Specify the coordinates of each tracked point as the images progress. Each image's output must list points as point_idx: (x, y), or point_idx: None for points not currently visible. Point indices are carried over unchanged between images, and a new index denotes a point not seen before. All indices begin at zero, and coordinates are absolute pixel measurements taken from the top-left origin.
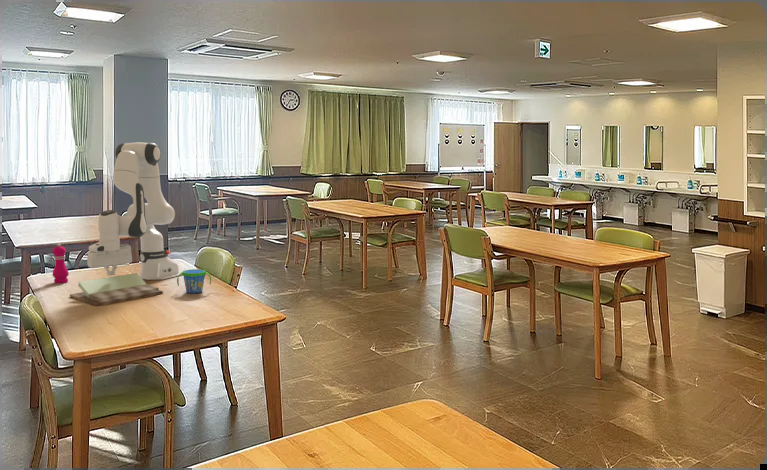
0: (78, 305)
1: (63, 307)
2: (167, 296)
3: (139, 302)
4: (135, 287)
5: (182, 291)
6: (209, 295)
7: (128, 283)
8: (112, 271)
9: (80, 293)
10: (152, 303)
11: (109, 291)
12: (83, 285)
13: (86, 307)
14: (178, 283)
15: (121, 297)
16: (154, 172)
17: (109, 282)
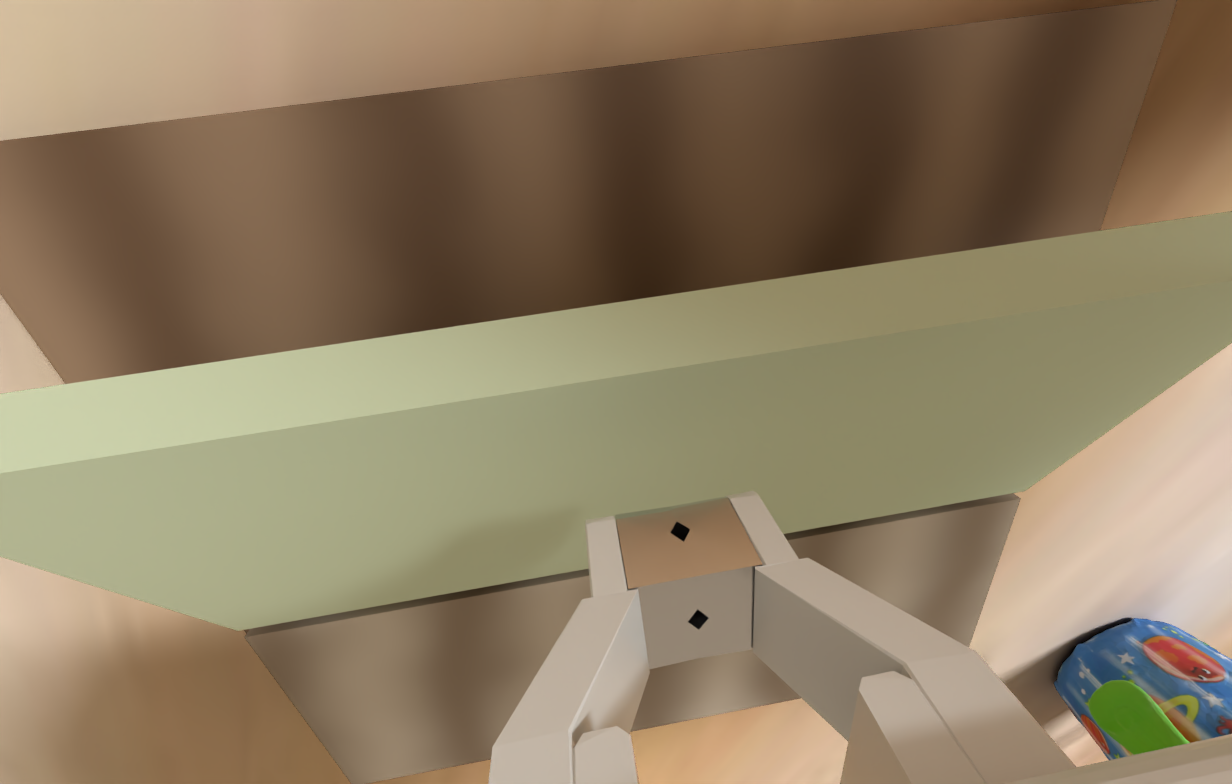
0: (169, 644)
1: (3, 651)
2: None
3: (665, 737)
4: (834, 566)
5: (1089, 604)
6: (1063, 746)
7: (848, 488)
8: (721, 652)
9: (130, 212)
10: (715, 778)
11: (510, 608)
12: (53, 555)
13: (251, 720)
14: (1121, 711)
15: None
16: None
17: (587, 485)
